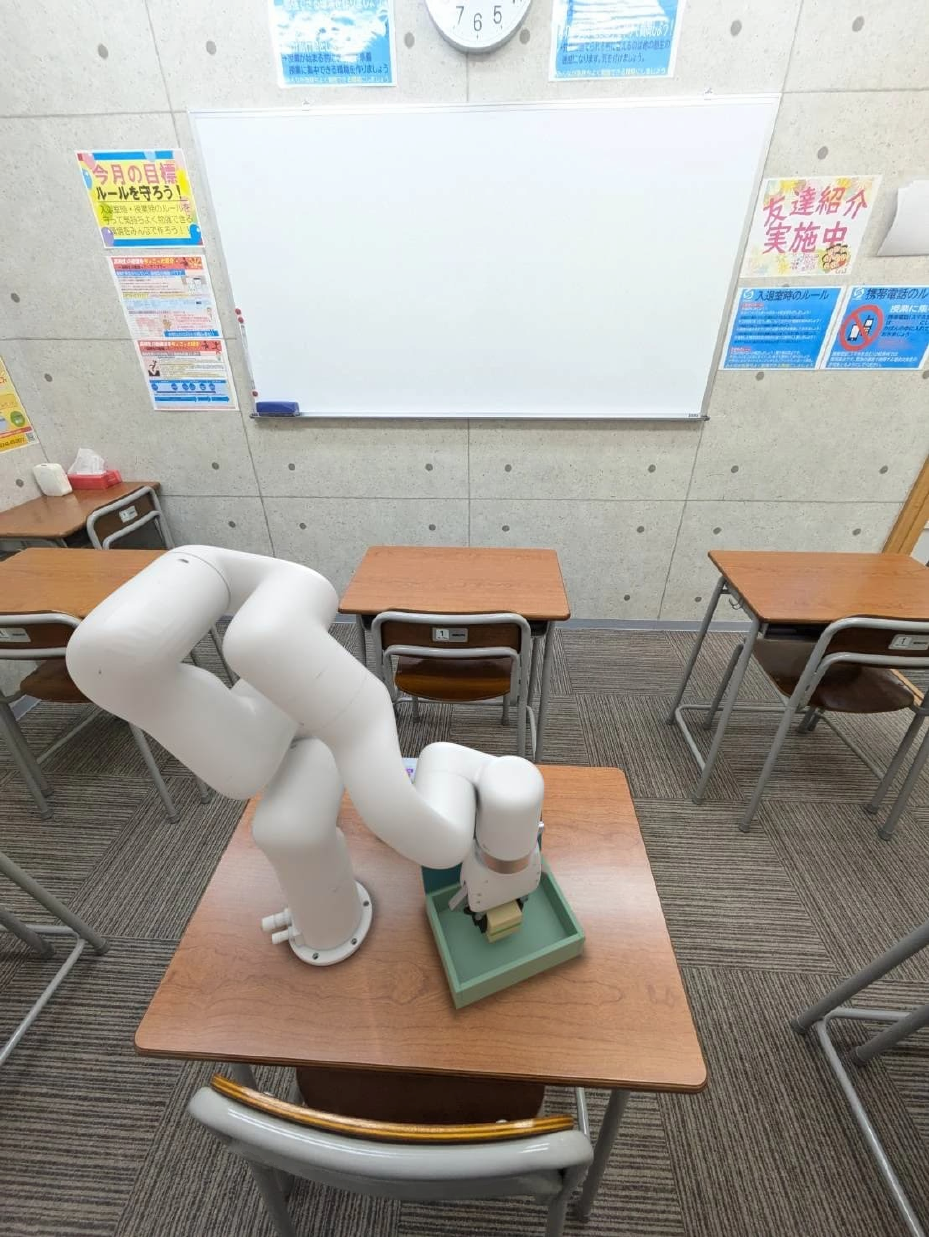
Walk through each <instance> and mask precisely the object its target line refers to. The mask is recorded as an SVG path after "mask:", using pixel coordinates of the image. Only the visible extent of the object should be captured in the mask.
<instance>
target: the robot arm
mask: <svg viewBox="0 0 929 1237" xmlns="http://www.w3.org/2000/svg"><path fill="white" fill-rule="evenodd" d="M339 603H340V602H339V596H338V592H337V591H336V588H335V586H333V585H332V583H331V582H330V581H329V580H328V579H327V578H326V577H324V575H322V574H321V573H319V572H318V571H316V570H314V569H312V568H310V567H307V566H305V565H302V564H299V563H297V562H293V561H289V560H285V559H280V558H276V557H272V556H268V555H267V556H266V555H262V554H256V553H250V552H246V551H241V550H235V549H229V548H223V547H218V546H214V545H204V544H187V545H186V544H185V545H181V546H178V547H177V546H176V547H174V548H172V549H170V550H168V551H166V552H165V553H164V554H161V556H159V557H157V558H156V559H155V560H154V561H152V562H151V563H150V564H148V566H146V567H145V568H144V569H142V570H140V572H138V573H137V574H136V575H134V576H133V577H132V578H131V579H129V580H128V581H126V582H125V583H124V584H122V585H121V586H119V587H118V588H117V589H116V590H115V591H114V592H112V593H110V595H108V596H107V597H106V598H105V599H104V600H102V601H101V602H100V603H99V604H98V605H97V606H96V607H95V608H93V609H92V610H91V612H89V613H88V614H87V615H86V617H85V618H84V619H82V621H81V622H80V623H79V625H78V626H77V627H76V628H75V629H74V631H73V633H72V635H71V636H70V639H69V641H68V642H67V646H66V649H65V663H66V664H65V665H66V668H67V671H68V675H69V676H70V678H71V680H72V681H73V683H74V684H75V686H76V687H77V688H78V690H79V691H80V692H81V694H83V695H84V696H86V698H88V699H89V700H90V701H92V702H93V703H94V704H95V705H97V706H98V707H100V708H101V709H103V710H105V711H107V712H108V713H110V714H111V715H114V716H116V717H118V718H120V719H122V720H125V721H126V722H127V723H130V724H132V725H133V726H135V727H137V728H139V729H141V731H144V732H145V733H147V734H148V735H149V736H151V737H152V738H153V739H154V740H155V741H156V742H157V743H158V744H159V745H160V746H161V747H163V748H164V749H165V750H166V751H168V752H169V753H170V754H171V755H172V756H174V757H175V758H176V759H177V760H178V761H179V762H180V763H182V764H183V765H184V766H185V767H186V768H188V769H189V770H190V771H191V772H192V773H193V774H195V775H196V776H197V777H198V778H199V779H200V780H201V781H202V782H204V783H205V784H206V785H208V786H209V787H210V788H211V789H213V790H214V791H216V792H217V793H218V794H220V795H222V796H224V797H226V798H228V799H232V800H236V801H246V800H250V799H252V798H255V797H256V796H257V795H259V794H260V793H262V794H261V795H260V798H259V800H258V802H257V805H256V808H255V810H254V814H253V817H252V820H251V827H250V828H251V829H250V830H251V837H252V840H253V842H254V843H255V845H256V847H257V848H258V849H259V850H260V852H262V853H263V855H264V856H265V857H266V858H267V860H268V861H269V863H270V865H271V867H272V868H273V870H274V873H275V875H276V878H277V880H278V882H279V885H280V887H281V888H280V889H281V890H282V893H283V895H284V898H285V900H286V904H287V906H288V907H285V908H284V909H283V911H281V912H279V913H276V914H271V915H269V916H265V917H263V918H261V927H262V932H263V933H268V932H271V931H274V930H276V929H277V928H281V927H284V926H286V927H287V928H286V929H285V930H280V931H277V932H275V933H272V934H271V941H272V945H273V946H275V945H277V944H280V943H284V942H285V941H288V943H289V945H290V947H291V949H292V951H293V952H294V954H295V955H296V956H297V957H298V958H299V959H300V960H301V961H302V962H305V963H307V964H309V965H313V966H320V967H321V966H322V967H323V966H324V967H325V966H331V965H336V964H337V963H339V962H342V961H344V960H346V959H348V958H349V957H351V955H353V954H354V953H355V952H356V951H357V950H358V949H359V948H360V947H361V944H362V942H363V941H364V940H365V938H366V936H367V934H368V932H369V930H370V927H371V924H372V920H373V904H372V900H371V897H370V894H369V893H368V890H366V888H365V887H364V886H363V885H362V884H361V883H359V882H358V881H357V880H356V877H355V872H354V867H353V862H352V859H351V854H350V849H349V847H348V842H347V838H346V836H345V834H344V832H343V831H342V830H341V828H339V827H338V826H337V822H338V817H339V814H340V809H341V807H342V804H343V801H344V797H345V792H347V795H348V797H349V798H350V800H351V802H352V805H353V806H354V808H355V810H356V812H357V814H358V816H359V818H361V820H362V821H363V823H364V825H365V826H366V827H367V828H368V829H369V831H371V833H373V834H374V835H375V836H376V837H377V838H378V839H380V840H381V841H383V842H384V843H385V844H386V845H388V846H389V847H391V848H392V849H393V850H395V852H398V853H399V854H400V855H402V856H403V857H404V858H406V859H408V860H410V861H412V862H414V863H416V864H418V865H420V866H421V865H422V866H425V867H429V868H433V869H447V868H451V867H454V866H456V865H458V864H460V863H461V862H462V861H463V862H462V867H461V873H460V883H461V887H462V888H461V889H460V890H459V891H458V892H457V893H456V894H455V896H454V897H453V898H452V899H451V900H450V901H449V906H450V909H451V911H452V912H456V913H461V912H464V914H466V915H471V916H472V920H473V923H474V925H475V926H479V928H480V931H481V933H482V934H483V933H485V931H486V928H487V916H486V911H487V910H488V909H490V908H493V907H496V906H499V905H501V904H504V903H507V902H509V901H512V900H514V899H515V900H516V902H517V904H518V906H519V908H520V911H521V913H522V908H523V906H524V903H525V902H527V901H528V900H529V897H528V895H529V894H530V893H531V892H533V891H534V890H536V888H537V887H538V884H539V883H541V882H542V881H543V880H545V879H546V878H547V877H548V876H549V874H548V872H547V870H546V868H545V867H544V866H543V865H541V858H540V852H541V851H540V850H539V845H538V841H537V838H538V836H539V835H540V833H542V834H543V833H545V832H546V826H545V823H544V822H543V820H542V821H540V818H541V812H542V813H543V806H544V800H545V791H546V785H545V780H544V777H543V775H542V773H541V771H540V770H539V769H538V767H537V766H536V764H535V765H534V763H533V762H531V761H530V760H528V759H526V758H524V757H521V756H517V755H502V756H496V755H493V754H489V753H486V752H482V751H481V750H480V751H479V750H476V749H474V748H470V747H468V746H465V745H461V744H457V743H453V742H449V741H436V742H432V743H429V744H428V745H426V746H425V747H424V748H423V749H422V750H421V751H420V753H419V756H418V757H417V758H418V761H417V765H416V770H415V775H414V780H413V784H412V782H411V780H410V778H409V776H408V774H407V771H406V769H405V766H404V763H403V760H402V758H403V756H402V753H401V748H400V743H399V734H398V728H397V722H396V715H395V711H394V705H393V702H392V699H391V698H392V697H391V695H390V692H389V690H388V688H387V686H386V685H385V684H384V682H383V681H382V680H380V679H379V678H378V677H377V676H376V675H374V674H373V673H372V672H371V670H369V669H368V668H367V667H366V666H364V665H363V663H361V662H360V661H359V660H358V659H357V658H356V657H354V655H352V654H351V653H350V652H349V651H348V650H347V649H346V648H345V647H344V646H343V645H341V644H340V643H339V641H338V640H336V638H334V637H333V636H332V635H331V634H330V633H329V630H330V628H331V627H332V624H333V622H334V621H335V619H336V617H337V614H338V611H339V607H340V606H339ZM223 616H228V617H233V618H232V619H231V621H230V623H229V624H228V626H227V629H226V631H225V633H224V636H223V640H222V654H223V658H224V660H225V662H226V664H227V666H229V668H230V669H231V670H232V672H234V673H235V674H236V675H237V676H238V677H239V679H238V680H237V681H236V682H235V684H234V685H233V686H232V687H231V689H230V688H229V687H228V686H227V685H226V684H225V683H224V682H223V681H222V680H221V679H220V678H219V677H218V676H217V675H215V674H214V673H213V672H211V671H208V670H207V669H204V668H202V667H199V666H195V665H192V664H188V663H184V662H182V661H183V660H184V659H185V658H186V657H187V656H188V655H189V654H190V653H191V652H192V651H193V649H195V647H196V646H197V645H198V644H199V643H200V641H201V640H203V638H204V637H205V636H206V635H207V634H208V633H209V632H210V631H211V629H212V628H213V627H214V626H215V625H216V624H217V622H218V621H219V620H220V619H221V618H222V617H223ZM475 812H477V816H476V834H475V839H474V840H473V836H474V826H475ZM366 903H368V905H366V906H365V904H366Z"/></svg>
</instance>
